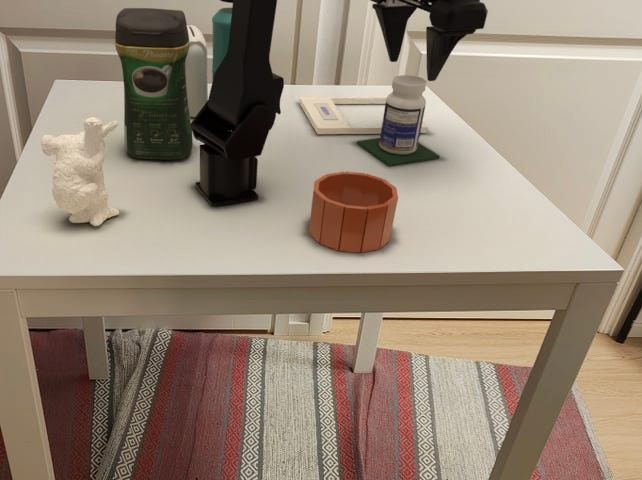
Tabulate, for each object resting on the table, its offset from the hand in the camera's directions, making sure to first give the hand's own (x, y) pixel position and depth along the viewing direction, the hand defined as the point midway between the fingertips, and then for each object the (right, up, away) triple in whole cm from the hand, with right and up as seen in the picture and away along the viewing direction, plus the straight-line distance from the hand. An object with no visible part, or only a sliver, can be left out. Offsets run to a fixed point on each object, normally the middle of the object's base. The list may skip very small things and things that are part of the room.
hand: (411, 70), depth 91 cm
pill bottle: (-1, -9, +7) cm, 11 cm away
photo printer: (-33, +2, +18) cm, 37 cm away
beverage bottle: (-26, -3, +12) cm, 29 cm away
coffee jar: (-36, -10, +4) cm, 38 cm away
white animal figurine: (-42, -24, -13) cm, 50 cm away
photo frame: (-4, 0, +18) cm, 18 cm away
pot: (-11, -25, -13) cm, 30 cm away
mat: (0, -9, +7) cm, 12 cm away
